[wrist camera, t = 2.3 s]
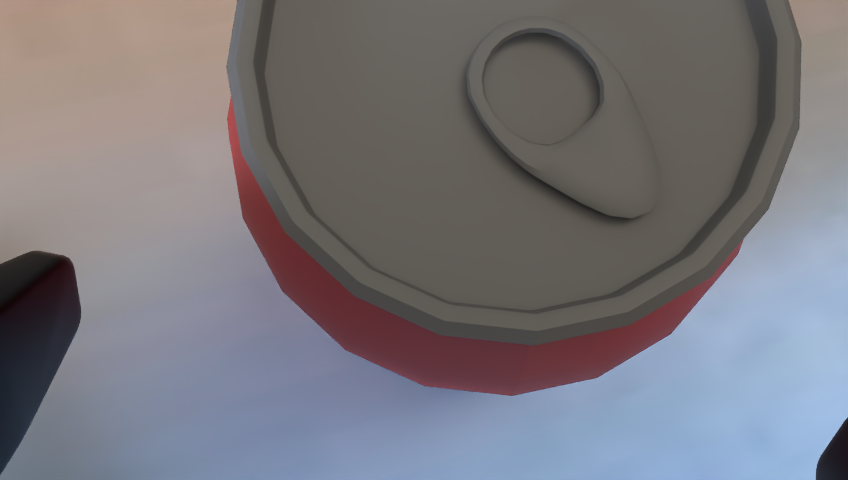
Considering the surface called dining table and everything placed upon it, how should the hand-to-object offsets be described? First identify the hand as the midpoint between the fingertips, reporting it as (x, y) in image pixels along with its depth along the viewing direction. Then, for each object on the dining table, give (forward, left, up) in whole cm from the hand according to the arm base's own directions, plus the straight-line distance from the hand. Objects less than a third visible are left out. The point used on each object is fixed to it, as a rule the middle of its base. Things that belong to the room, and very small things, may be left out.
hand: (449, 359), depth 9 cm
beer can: (+2, -2, -10) cm, 11 cm away
